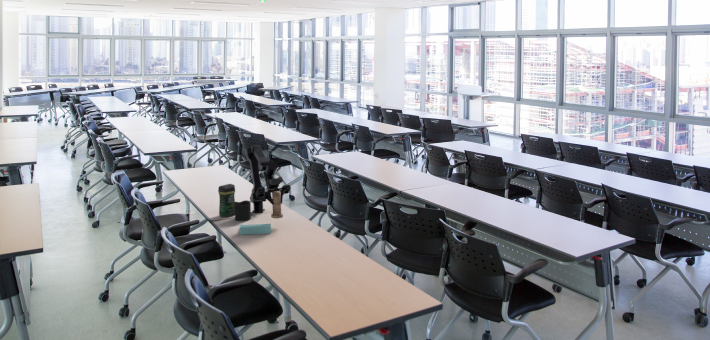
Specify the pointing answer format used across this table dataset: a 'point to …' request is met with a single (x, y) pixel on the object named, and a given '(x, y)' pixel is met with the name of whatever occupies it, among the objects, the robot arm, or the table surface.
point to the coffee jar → (226, 200)
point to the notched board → (255, 229)
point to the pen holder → (242, 210)
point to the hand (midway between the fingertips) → (277, 204)
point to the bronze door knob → (276, 204)
